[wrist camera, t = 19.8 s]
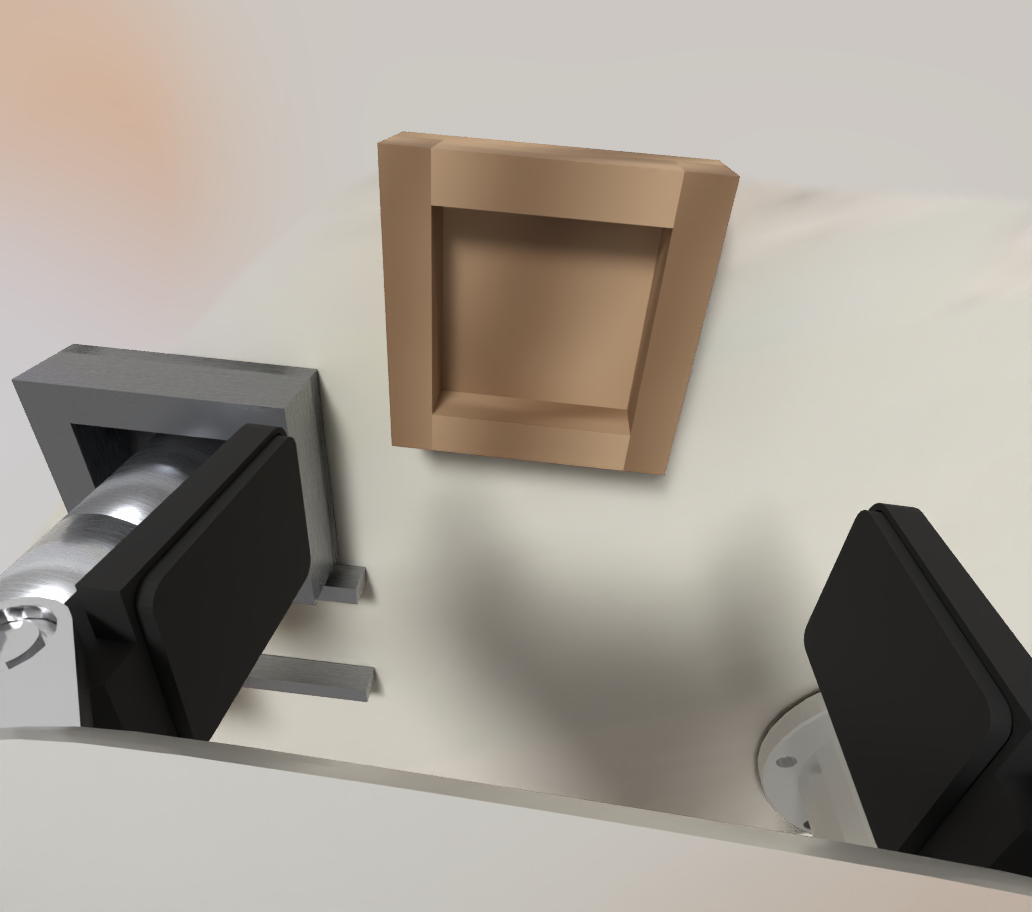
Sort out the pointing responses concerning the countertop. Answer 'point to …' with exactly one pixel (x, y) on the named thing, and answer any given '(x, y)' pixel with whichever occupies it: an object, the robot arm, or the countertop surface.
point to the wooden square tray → (545, 296)
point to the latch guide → (316, 674)
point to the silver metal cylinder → (105, 517)
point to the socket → (175, 421)
